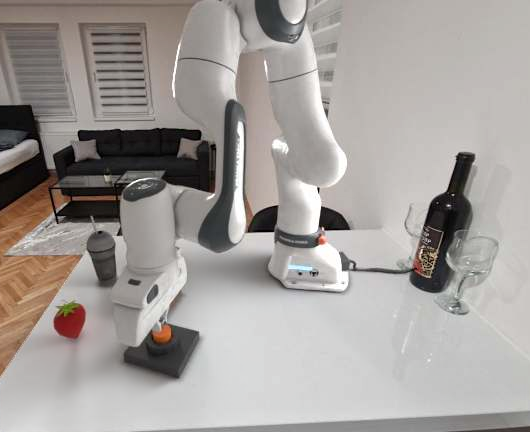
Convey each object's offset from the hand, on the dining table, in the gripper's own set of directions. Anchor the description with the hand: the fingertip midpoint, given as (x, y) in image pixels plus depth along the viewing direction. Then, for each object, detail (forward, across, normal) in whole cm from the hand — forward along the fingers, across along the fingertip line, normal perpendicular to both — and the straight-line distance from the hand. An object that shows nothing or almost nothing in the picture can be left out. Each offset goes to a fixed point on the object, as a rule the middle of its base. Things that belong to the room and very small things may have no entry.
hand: (160, 327), depth 60 cm
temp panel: (+6, -12, -10) cm, 17 cm away
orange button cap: (+3, 0, 0) cm, 3 cm away
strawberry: (+6, +3, -20) cm, 21 cm away
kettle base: (+6, 0, 0) cm, 6 cm away
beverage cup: (+6, -16, -26) cm, 31 cm away
